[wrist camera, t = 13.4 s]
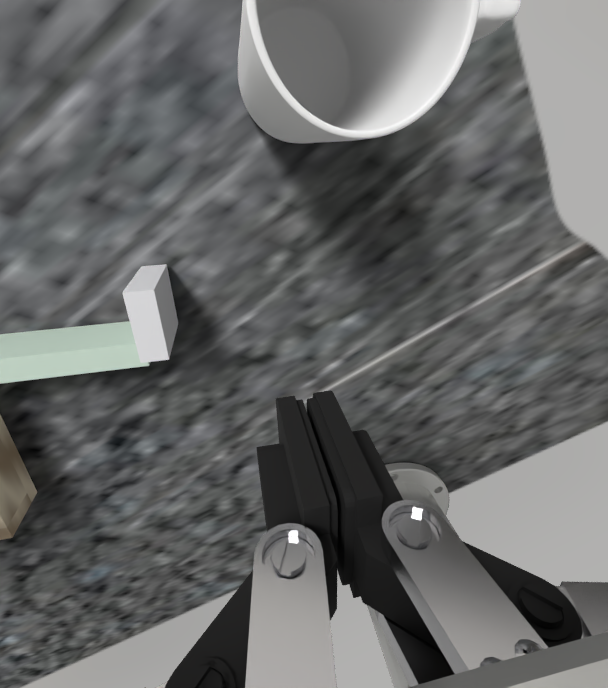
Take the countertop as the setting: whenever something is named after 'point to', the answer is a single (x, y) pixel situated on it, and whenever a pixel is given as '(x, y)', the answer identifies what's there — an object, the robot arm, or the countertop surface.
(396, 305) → the countertop surface
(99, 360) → the gate
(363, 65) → the mug
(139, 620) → the countertop surface
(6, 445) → the wooden tray
